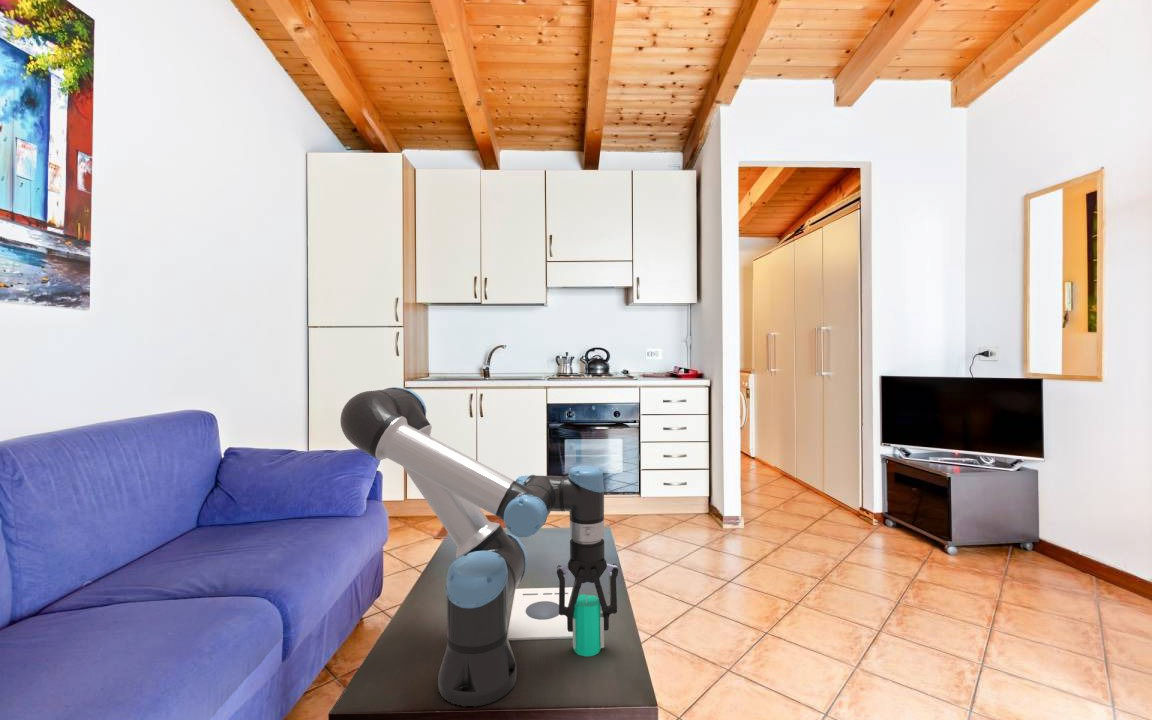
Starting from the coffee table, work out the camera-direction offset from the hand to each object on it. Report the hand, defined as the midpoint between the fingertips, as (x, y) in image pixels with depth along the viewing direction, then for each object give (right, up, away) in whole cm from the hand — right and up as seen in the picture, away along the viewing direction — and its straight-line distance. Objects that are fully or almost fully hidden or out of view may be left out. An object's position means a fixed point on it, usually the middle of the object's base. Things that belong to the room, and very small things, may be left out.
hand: (588, 644), depth 109 cm
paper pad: (-11, -1, +16) cm, 19 cm away
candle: (0, -1, 0) cm, 1 cm away
